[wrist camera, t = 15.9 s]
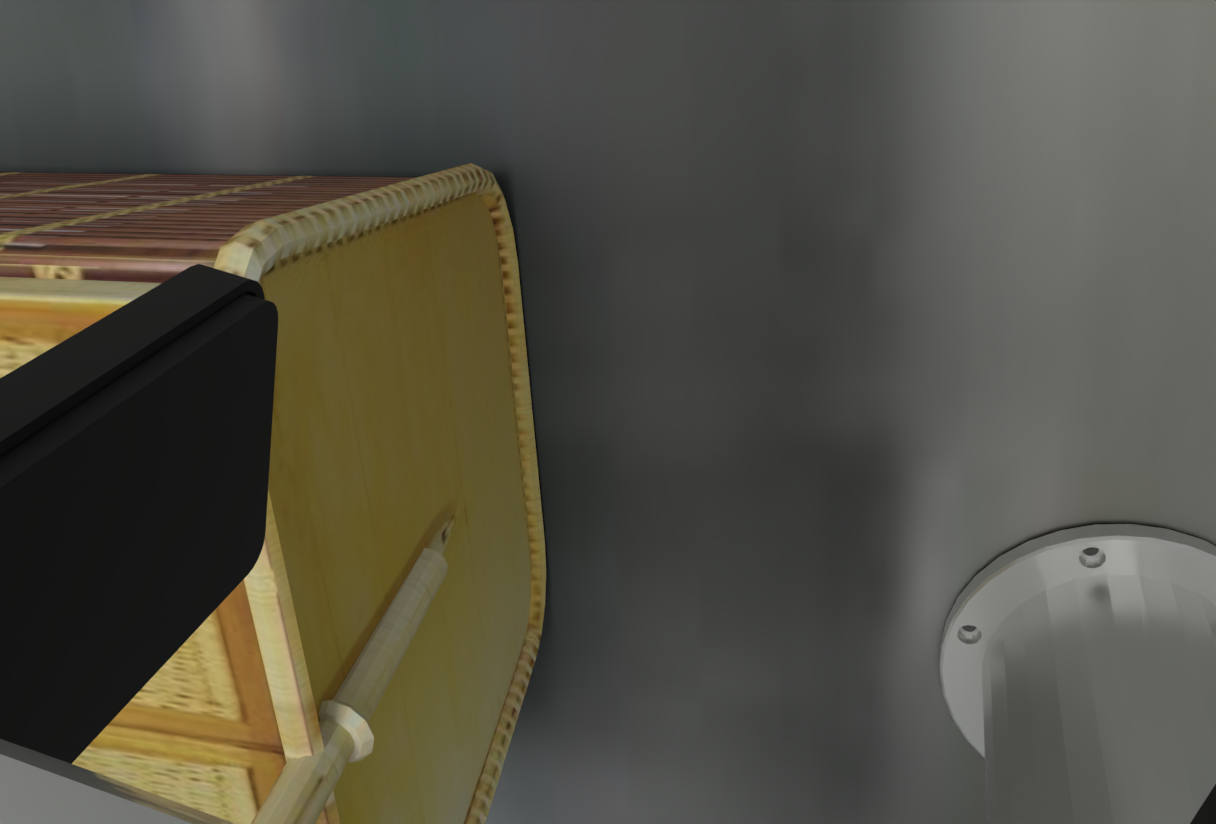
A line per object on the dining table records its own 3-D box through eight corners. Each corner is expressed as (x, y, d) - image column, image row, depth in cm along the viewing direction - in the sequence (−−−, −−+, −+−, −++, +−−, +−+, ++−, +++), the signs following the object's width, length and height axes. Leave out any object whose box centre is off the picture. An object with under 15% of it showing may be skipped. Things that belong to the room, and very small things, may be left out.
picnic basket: (46, 603, 59) (-671, 1223, 33) (-126, 78, 47) (-1432, 393, 21) (606, 672, 51) (253, 1545, 25) (562, 69, 40) (-162, 536, 14)
